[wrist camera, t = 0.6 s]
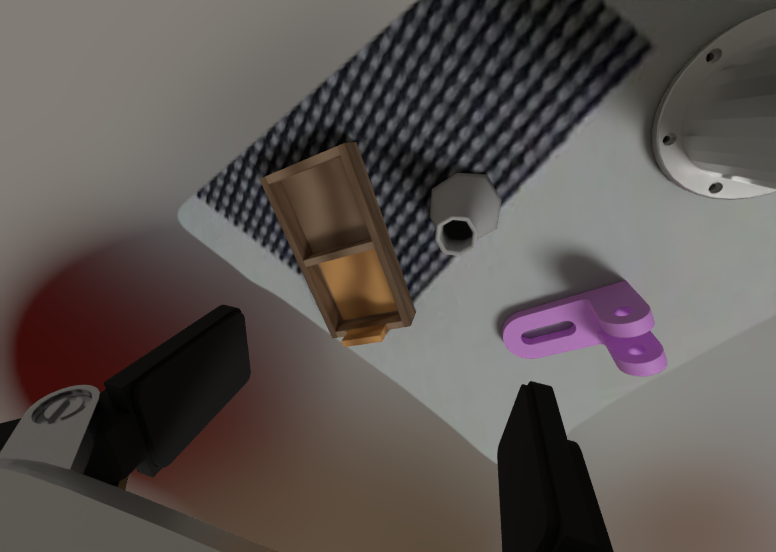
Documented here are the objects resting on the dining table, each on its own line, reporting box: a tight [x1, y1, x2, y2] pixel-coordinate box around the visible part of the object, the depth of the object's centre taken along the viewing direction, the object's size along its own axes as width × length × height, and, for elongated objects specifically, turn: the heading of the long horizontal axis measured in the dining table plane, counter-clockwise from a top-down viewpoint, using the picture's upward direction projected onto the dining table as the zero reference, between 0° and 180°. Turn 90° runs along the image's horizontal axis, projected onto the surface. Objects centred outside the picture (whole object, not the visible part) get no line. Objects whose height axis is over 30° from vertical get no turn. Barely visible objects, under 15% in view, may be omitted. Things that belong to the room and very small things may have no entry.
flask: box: [430, 173, 501, 256], centre depth 28 cm, size 7×7×10 cm
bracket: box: [503, 280, 667, 376], centre depth 31 cm, size 13×6×7 cm, turn 119°
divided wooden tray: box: [260, 142, 416, 347], centre depth 35 cm, size 11×20×6 cm, turn 20°
